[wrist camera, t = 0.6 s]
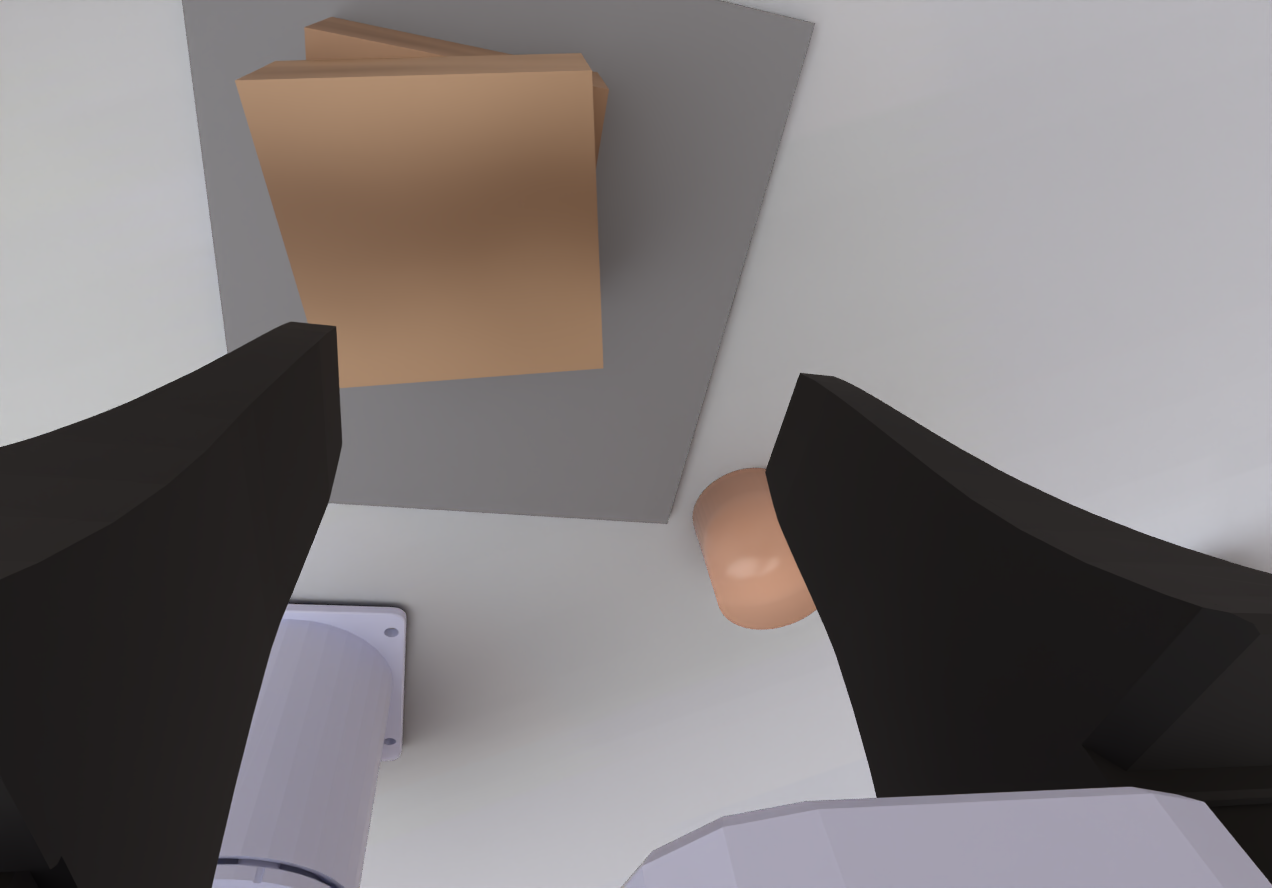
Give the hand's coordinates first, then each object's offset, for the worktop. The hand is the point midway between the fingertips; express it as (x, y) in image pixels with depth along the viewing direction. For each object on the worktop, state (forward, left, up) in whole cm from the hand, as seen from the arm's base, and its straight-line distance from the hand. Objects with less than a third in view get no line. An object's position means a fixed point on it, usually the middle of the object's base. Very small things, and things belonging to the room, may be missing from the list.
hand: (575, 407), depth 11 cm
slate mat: (-2, +1, -10) cm, 10 cm away
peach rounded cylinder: (-10, -9, -10) cm, 16 cm away
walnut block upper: (+1, +2, -7) cm, 7 cm away
